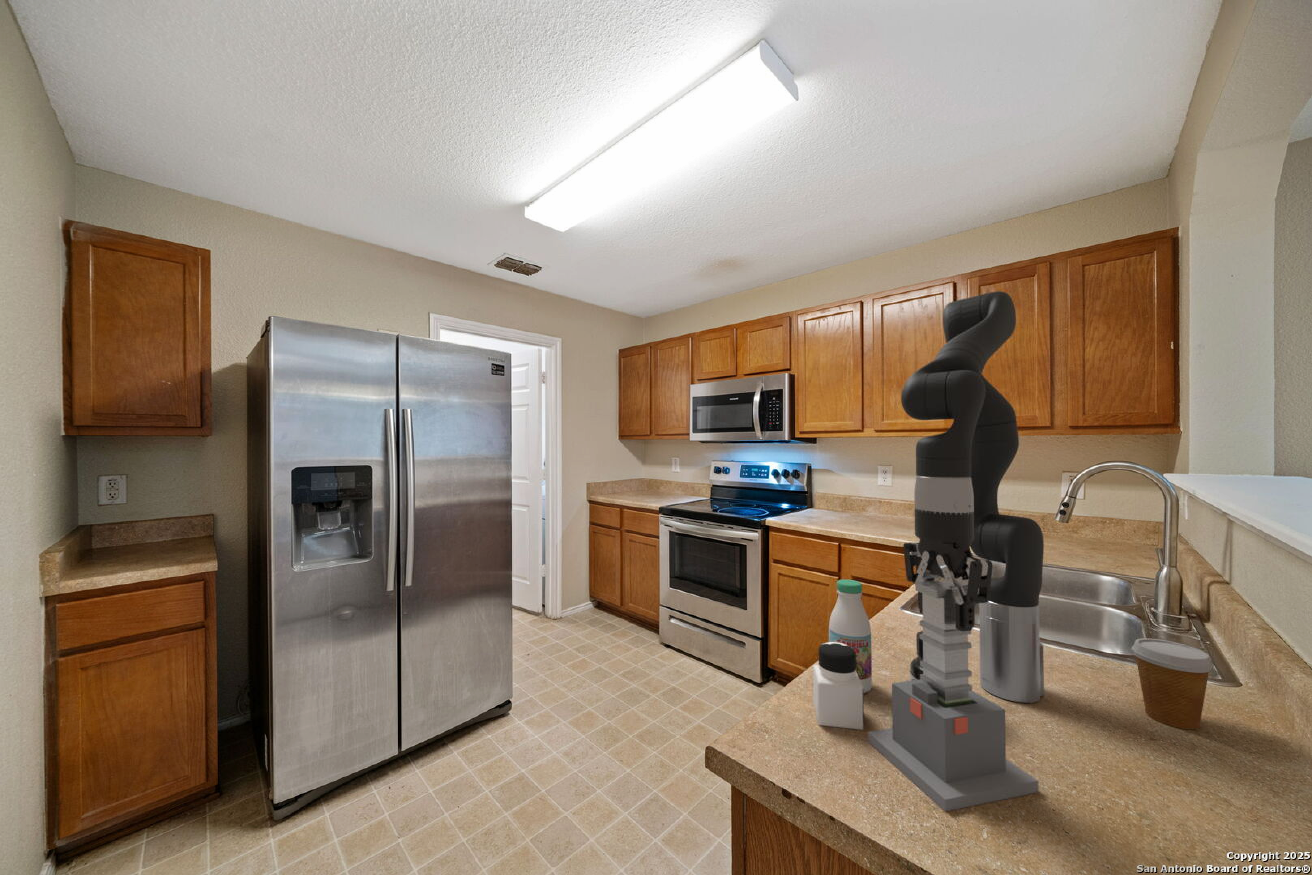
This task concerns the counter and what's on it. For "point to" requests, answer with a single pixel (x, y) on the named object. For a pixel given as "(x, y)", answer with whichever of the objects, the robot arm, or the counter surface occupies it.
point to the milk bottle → (853, 628)
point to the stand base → (950, 748)
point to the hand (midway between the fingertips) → (944, 621)
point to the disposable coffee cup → (1172, 681)
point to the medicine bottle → (838, 687)
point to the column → (944, 646)
